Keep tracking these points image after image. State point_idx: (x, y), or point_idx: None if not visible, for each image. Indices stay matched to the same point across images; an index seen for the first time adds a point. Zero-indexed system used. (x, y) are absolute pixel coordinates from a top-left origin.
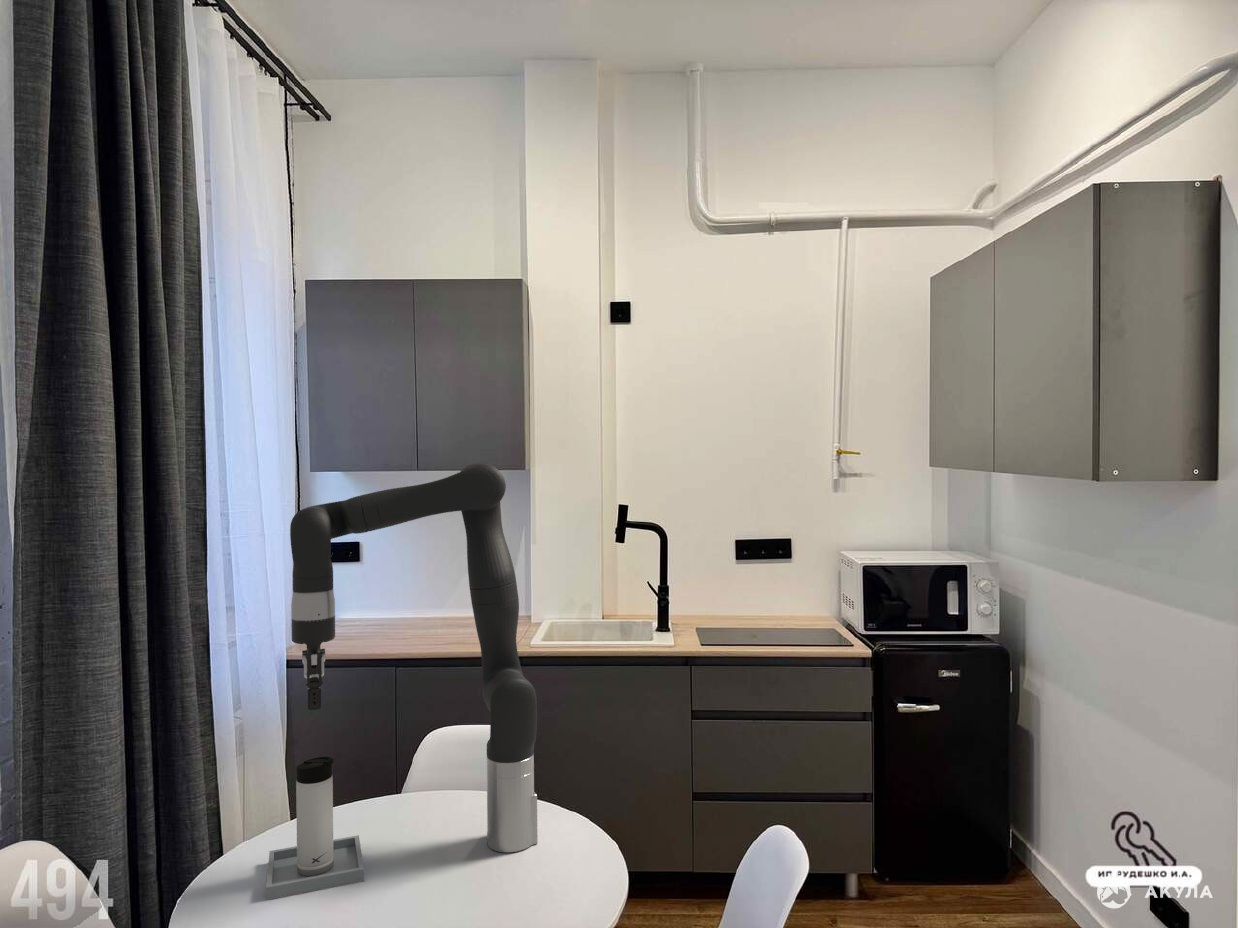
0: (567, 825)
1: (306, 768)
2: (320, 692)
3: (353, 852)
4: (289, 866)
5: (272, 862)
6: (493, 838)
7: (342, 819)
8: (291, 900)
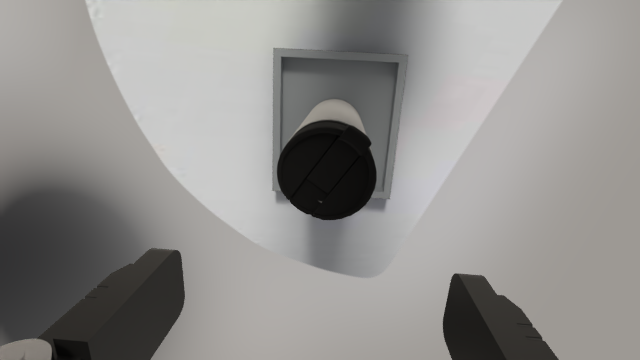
0: None
1: (365, 200)
2: (533, 356)
3: (307, 62)
4: None
5: None
6: None
7: (158, 65)
8: (405, 162)
